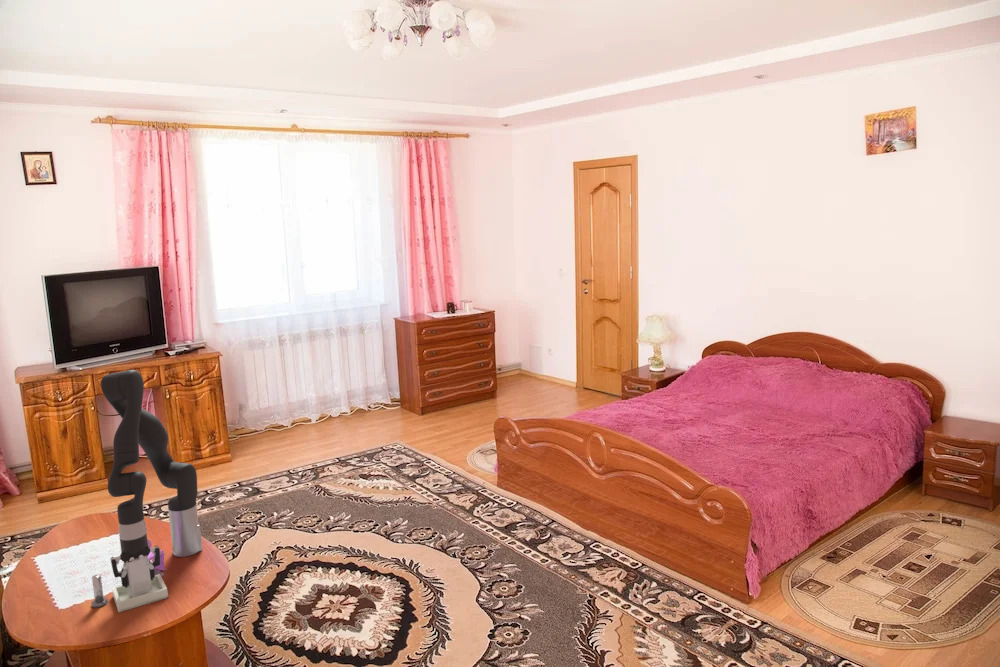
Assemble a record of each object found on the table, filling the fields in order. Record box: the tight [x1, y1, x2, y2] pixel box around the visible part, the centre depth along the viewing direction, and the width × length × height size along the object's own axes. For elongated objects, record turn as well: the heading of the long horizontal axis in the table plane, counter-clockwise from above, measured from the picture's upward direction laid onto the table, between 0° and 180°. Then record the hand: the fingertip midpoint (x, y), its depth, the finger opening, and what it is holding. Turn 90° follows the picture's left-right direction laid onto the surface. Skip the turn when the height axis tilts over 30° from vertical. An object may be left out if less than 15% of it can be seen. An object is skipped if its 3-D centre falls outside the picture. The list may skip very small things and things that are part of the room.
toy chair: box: [147, 538, 167, 571], centre depth 236 cm, size 8×9×15 cm
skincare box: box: [123, 556, 152, 597], centre depth 221 cm, size 6×4×12 cm
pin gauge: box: [90, 574, 109, 609], centre depth 218 cm, size 4×4×9 cm
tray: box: [111, 573, 169, 613], centre depth 222 cm, size 14×12×3 cm
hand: (138, 582), depth 222 cm, fingers closed on skincare box, 6 cm apart
